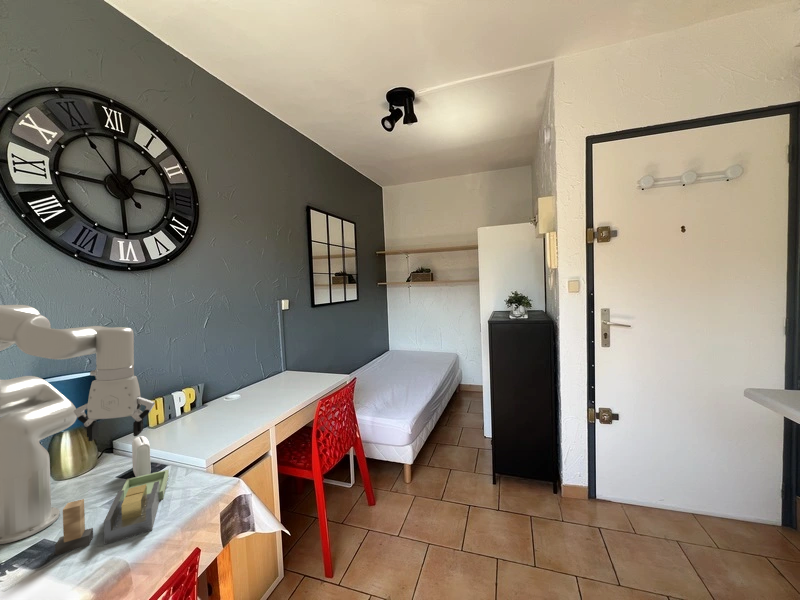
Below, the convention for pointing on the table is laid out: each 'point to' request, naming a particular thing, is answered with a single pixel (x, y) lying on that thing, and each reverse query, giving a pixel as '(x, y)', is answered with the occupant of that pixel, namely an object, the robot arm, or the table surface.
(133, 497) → the yellow wooden cube
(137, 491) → the yellow cube
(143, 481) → the chip tray
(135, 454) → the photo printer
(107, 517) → the channel
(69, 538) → the t-shaped hammer
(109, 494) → the table surface
